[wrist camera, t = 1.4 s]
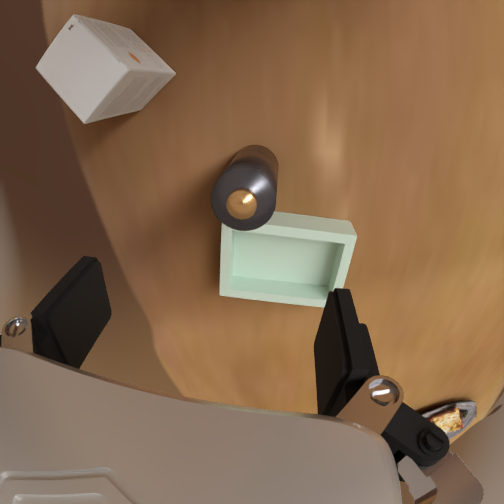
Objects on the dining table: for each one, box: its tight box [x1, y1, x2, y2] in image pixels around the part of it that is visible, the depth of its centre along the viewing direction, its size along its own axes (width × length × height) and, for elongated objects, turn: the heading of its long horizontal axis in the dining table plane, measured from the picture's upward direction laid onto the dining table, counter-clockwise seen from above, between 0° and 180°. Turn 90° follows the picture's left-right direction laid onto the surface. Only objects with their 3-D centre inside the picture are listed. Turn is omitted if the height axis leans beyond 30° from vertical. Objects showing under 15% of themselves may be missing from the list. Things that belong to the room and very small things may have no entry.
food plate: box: [420, 400, 476, 439], centre depth 51 cm, size 25×23×4 cm
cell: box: [211, 145, 278, 231], centre depth 25 cm, size 4×4×11 cm
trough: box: [220, 211, 357, 307], centre depth 32 cm, size 9×13×4 cm
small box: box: [36, 14, 176, 124], centre depth 21 cm, size 8×6×10 cm
